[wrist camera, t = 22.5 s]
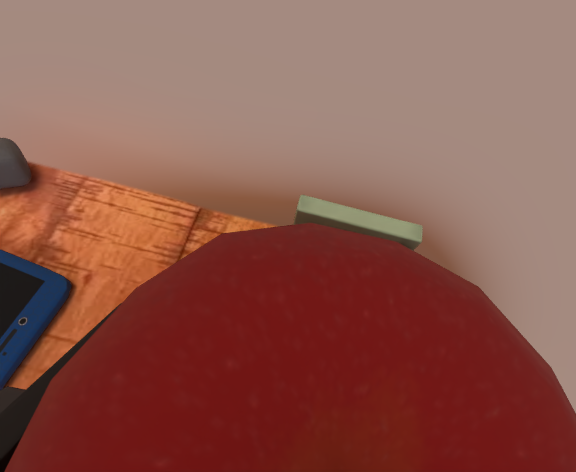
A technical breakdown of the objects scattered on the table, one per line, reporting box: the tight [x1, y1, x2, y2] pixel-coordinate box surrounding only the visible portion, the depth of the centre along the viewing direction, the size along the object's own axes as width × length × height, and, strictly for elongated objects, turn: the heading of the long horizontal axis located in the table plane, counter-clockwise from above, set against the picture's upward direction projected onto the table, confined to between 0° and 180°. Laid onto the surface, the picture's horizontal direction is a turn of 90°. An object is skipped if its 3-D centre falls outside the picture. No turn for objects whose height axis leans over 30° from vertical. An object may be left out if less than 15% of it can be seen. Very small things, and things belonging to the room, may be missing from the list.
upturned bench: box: [293, 195, 422, 250], centre depth 11 cm, size 14×5×10 cm, turn 166°
